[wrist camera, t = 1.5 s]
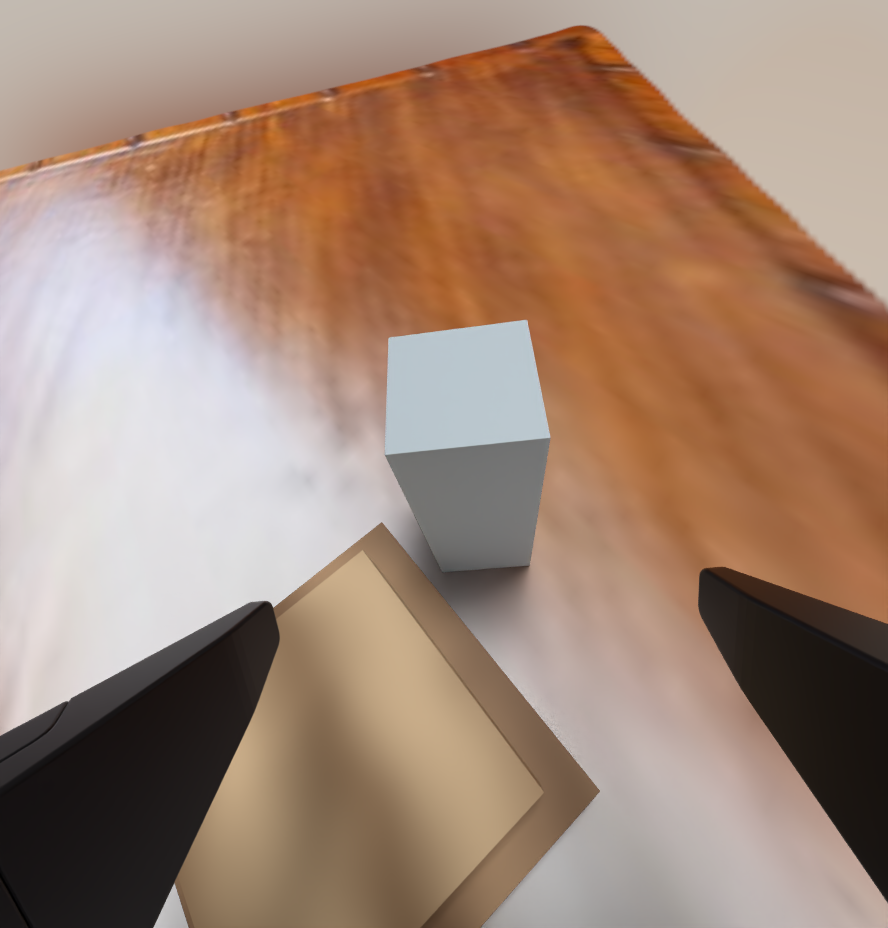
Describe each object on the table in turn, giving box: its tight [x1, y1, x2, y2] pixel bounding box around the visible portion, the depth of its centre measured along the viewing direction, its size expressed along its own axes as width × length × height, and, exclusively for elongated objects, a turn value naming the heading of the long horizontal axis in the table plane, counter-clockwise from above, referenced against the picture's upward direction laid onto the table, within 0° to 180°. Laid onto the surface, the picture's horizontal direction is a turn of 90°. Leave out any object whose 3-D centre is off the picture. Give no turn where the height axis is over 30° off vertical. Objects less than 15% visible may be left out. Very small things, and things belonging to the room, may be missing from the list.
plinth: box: [175, 523, 600, 928], centre depth 17 cm, size 14×14×4 cm
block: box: [385, 320, 550, 572], centre depth 18 cm, size 4×4×12 cm
